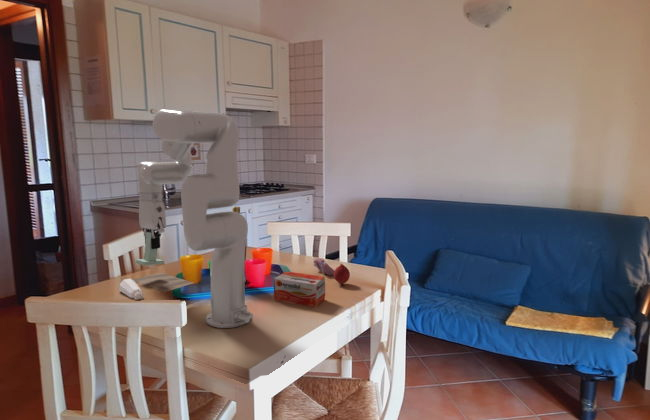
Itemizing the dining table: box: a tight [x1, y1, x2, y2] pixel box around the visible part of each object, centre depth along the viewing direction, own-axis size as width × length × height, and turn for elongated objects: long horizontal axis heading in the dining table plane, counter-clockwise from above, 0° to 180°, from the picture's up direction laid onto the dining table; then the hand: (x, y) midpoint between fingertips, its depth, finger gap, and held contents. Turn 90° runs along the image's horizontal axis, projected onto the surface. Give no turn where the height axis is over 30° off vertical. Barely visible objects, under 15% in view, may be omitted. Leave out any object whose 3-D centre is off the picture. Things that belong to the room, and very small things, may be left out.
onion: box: [333, 263, 351, 286], centre depth 162 cm, size 6×6×8 cm
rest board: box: [132, 272, 194, 293], centre depth 160 cm, size 20×12×1 cm, turn 54°
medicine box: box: [273, 271, 326, 309], centre depth 146 cm, size 15×8×8 cm, turn 67°
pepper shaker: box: [118, 278, 144, 301], centre depth 146 cm, size 5×5×11 cm
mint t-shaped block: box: [135, 231, 165, 266], centre depth 160 cm, size 5×8×11 cm, turn 144°
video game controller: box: [313, 257, 335, 277], centre depth 176 cm, size 10×5×7 cm, turn 26°
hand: (152, 247), depth 161 cm, fingers closed on mint t-shaped block, 3 cm apart
